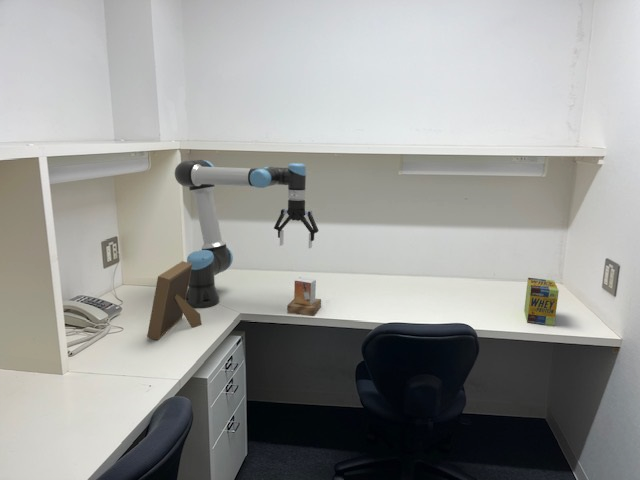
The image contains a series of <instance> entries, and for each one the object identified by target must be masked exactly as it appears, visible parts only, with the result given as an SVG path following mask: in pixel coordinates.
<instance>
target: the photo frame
mask: <svg viewBox="0 0 640 480" xmlns="http://www.w3.org/2000/svg"><path fill="white" fill-rule="evenodd" d="M192 265H193V264H191V263H188V262H187V261H183V260H182V261H180V262H179V263H178V264H175V265H174V266H172V267H170V268H169V269H167V270H166V271H164V272H163V273H161V274H159V275H157V281H156V284H155V285H156V286H155V290H154V296H153V301H152V308H151V313H150V317H149V318H150V319H149V325H148V328H147V333H146V334H147V335H146V338H148V339H153V340H155V341H159V340H160V339H162V337H164V336H165V335H166V334H167V333H166V332H169V331H170V330H171V329H172V328H173V327H174V326H175V325H176V324H178V323H179V322H180V321H181V320H182V319H183V315H184V316H185V319H186V320H187V322H188V324H189V325H190V327H191V328H196V327H198V326H202V318H201V313H199V312H198V311H197V310H196V308H193V307H191V306H190V305H189V304H188V303H187V302H186V301H185V300H186V295H187V291H188V285H189V280H190V275H191V270H192Z"/></svg>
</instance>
